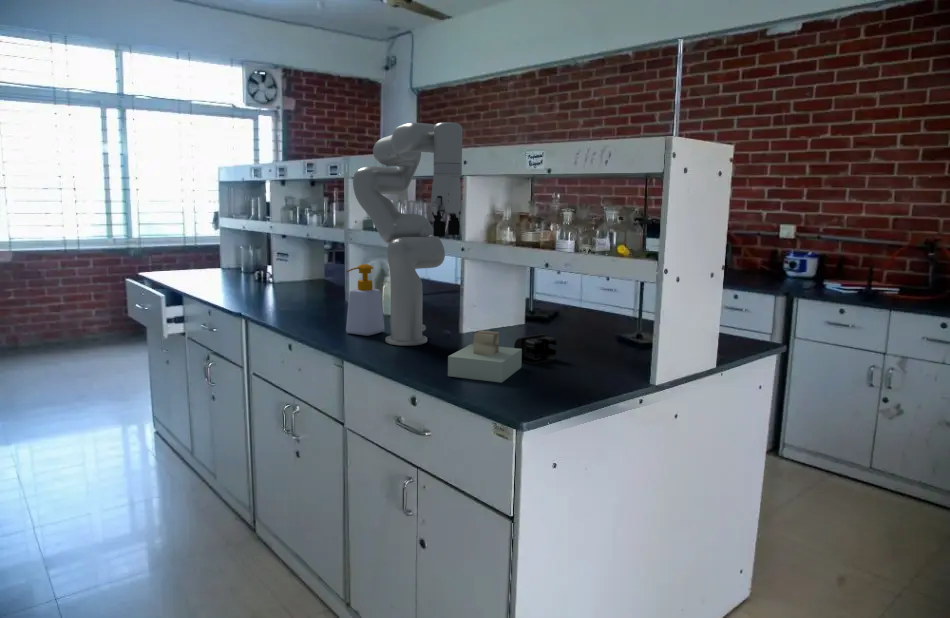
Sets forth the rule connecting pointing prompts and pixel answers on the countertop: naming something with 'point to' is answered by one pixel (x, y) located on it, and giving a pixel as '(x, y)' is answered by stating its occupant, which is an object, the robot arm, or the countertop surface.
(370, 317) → the soap bottle
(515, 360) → the sage stand
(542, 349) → the end cap
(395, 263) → the robot arm
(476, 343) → the maple cube
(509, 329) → the countertop surface
